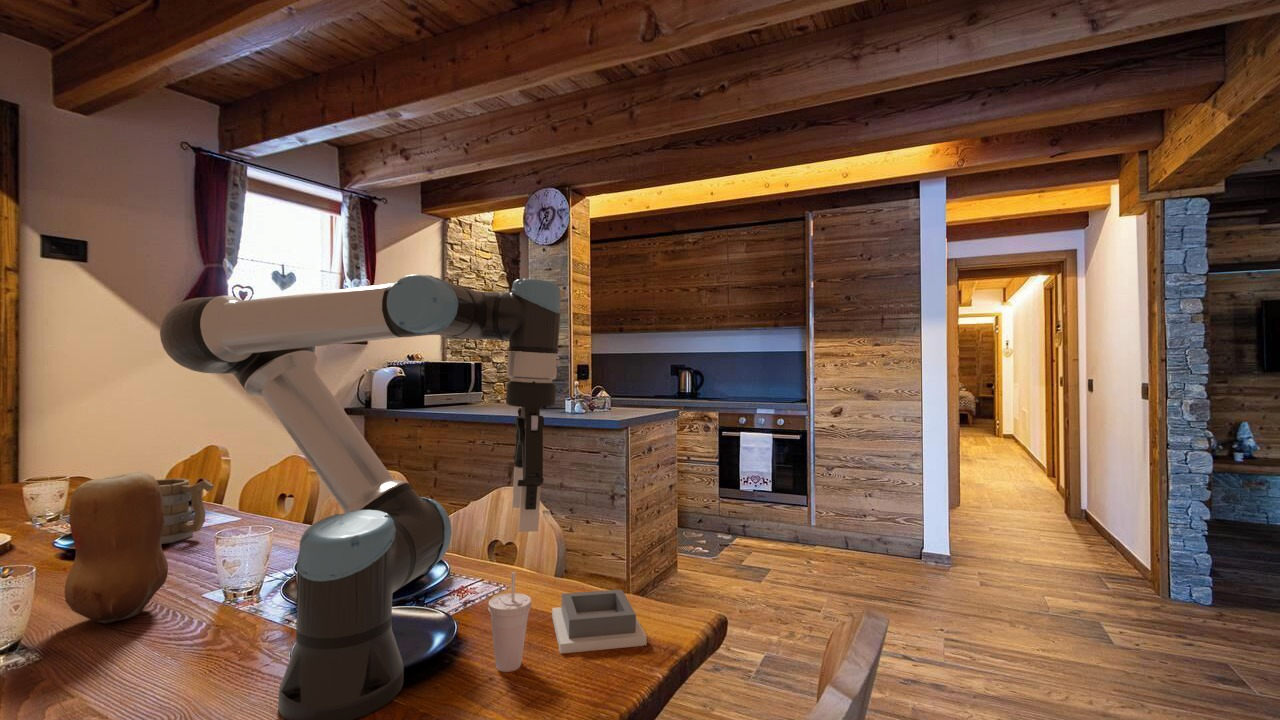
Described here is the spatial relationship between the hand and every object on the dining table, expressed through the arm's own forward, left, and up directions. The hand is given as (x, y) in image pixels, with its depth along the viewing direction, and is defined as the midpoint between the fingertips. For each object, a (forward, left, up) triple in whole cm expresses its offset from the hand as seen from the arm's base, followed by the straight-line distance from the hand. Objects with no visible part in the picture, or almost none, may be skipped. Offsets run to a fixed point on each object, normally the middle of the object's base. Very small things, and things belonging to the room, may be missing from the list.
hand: (524, 518), depth 89 cm
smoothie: (-2, -1, -22) cm, 22 cm away
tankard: (-82, +78, -22) cm, 115 cm away
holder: (+13, +8, -22) cm, 26 cm away
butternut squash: (-67, +28, -22) cm, 76 cm away
